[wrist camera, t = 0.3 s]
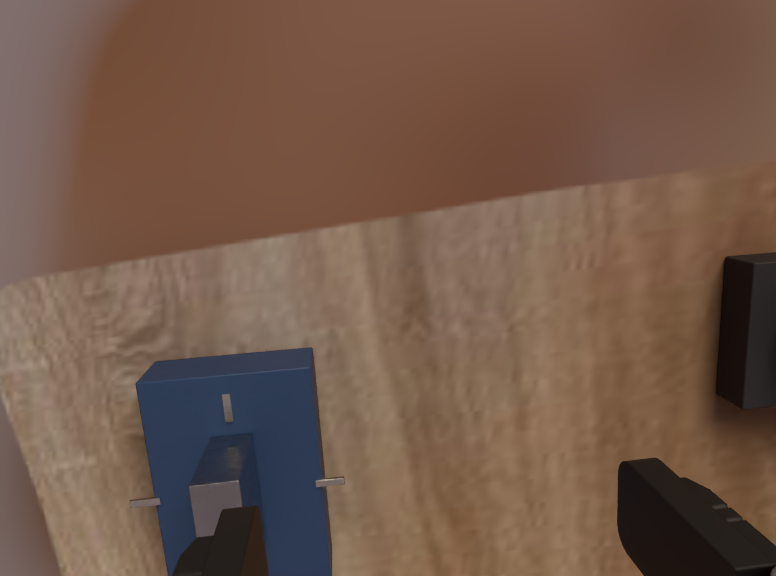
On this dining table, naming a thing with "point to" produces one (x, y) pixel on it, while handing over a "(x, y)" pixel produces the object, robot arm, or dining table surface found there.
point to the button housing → (748, 332)
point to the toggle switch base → (271, 440)
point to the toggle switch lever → (224, 481)
